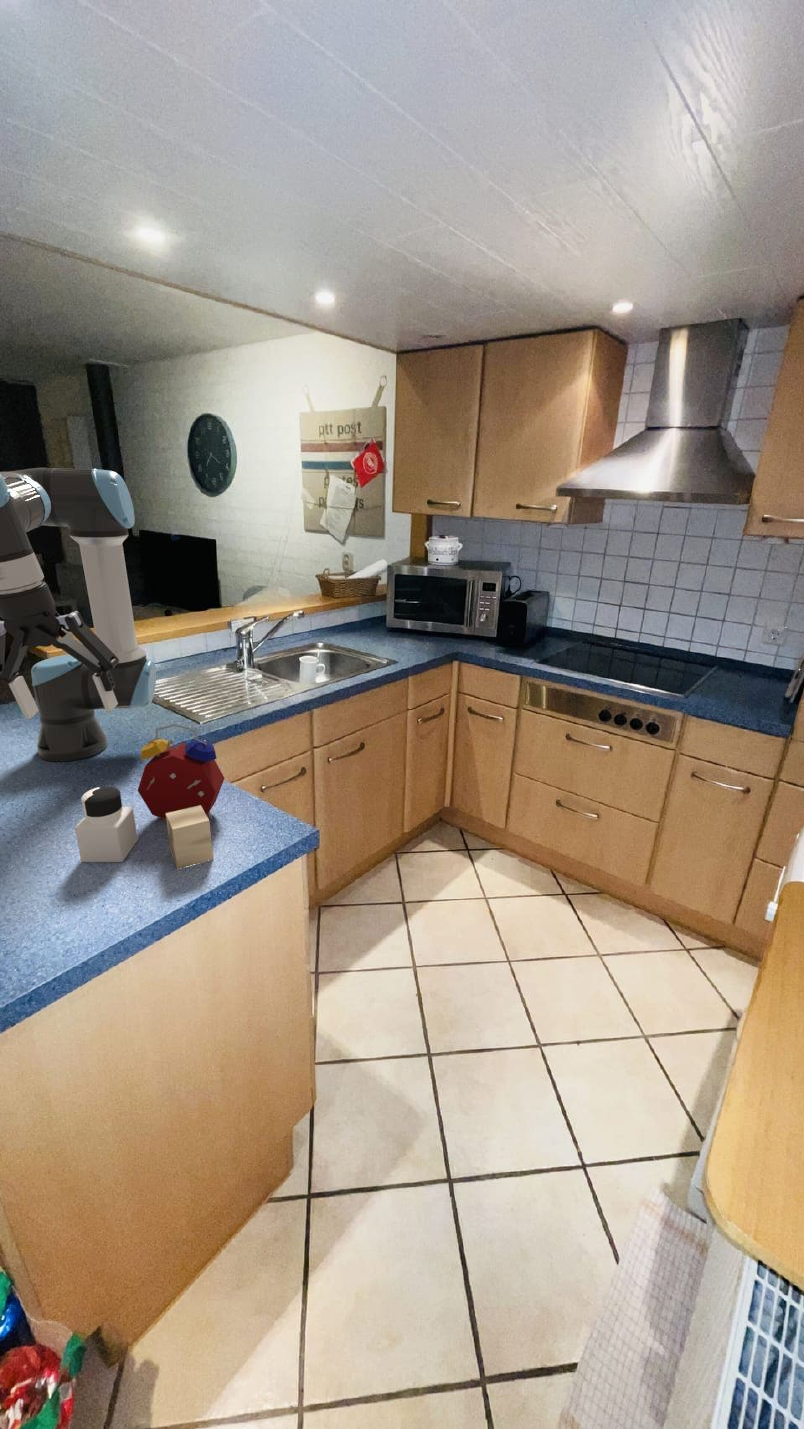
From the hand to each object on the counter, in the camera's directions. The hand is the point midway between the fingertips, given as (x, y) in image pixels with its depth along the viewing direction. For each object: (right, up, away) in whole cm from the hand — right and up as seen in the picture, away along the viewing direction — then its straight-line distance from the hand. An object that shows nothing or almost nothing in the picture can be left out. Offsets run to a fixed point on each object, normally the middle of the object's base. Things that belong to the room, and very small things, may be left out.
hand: (72, 711), depth 96 cm
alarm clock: (+11, -22, +19) cm, 31 cm away
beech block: (+17, -26, +8) cm, 32 cm away
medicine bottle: (+2, -25, +9) cm, 27 cm away
